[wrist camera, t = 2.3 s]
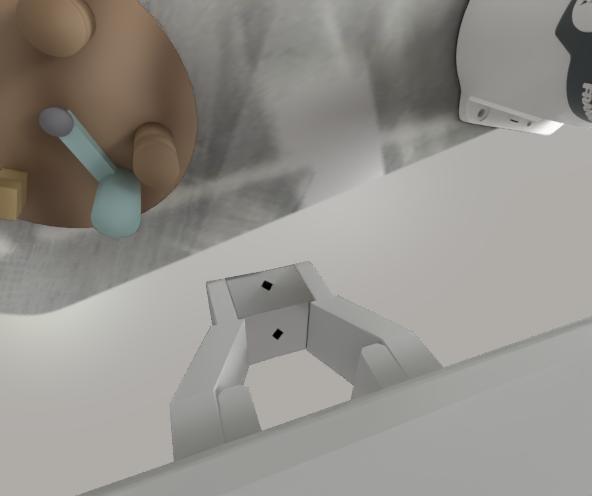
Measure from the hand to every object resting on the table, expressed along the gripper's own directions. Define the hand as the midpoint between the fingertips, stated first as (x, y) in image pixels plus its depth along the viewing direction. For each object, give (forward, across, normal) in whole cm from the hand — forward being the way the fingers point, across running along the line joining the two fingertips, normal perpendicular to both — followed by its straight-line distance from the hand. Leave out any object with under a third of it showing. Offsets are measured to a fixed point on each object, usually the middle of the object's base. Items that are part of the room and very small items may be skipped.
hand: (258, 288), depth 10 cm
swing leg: (+21, +7, +3) cm, 22 cm away
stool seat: (+24, +8, 0) cm, 25 cm away
